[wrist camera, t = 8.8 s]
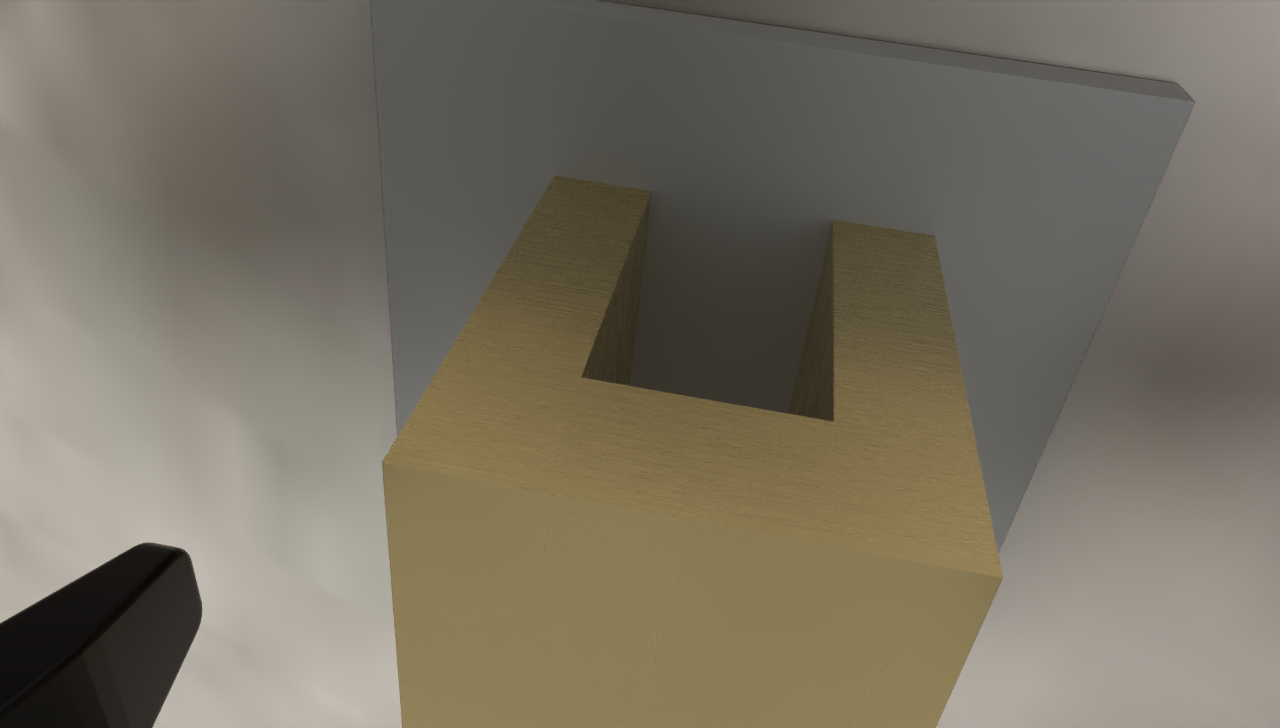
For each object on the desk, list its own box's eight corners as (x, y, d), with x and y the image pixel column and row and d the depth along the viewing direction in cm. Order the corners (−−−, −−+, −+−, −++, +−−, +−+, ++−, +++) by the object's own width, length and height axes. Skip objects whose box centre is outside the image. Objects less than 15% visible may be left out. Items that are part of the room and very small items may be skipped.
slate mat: (950, 626, 16) (953, 656, 15) (416, 524, 16) (404, 549, 16) (1178, 83, 11) (1195, 101, 10) (389, -30, 11) (368, -19, 11)
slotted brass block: (843, 538, 14) (849, 919, 10) (539, 482, 15) (409, 824, 10) (935, 235, 11) (1002, 577, 7) (554, 175, 12) (382, 462, 7)
